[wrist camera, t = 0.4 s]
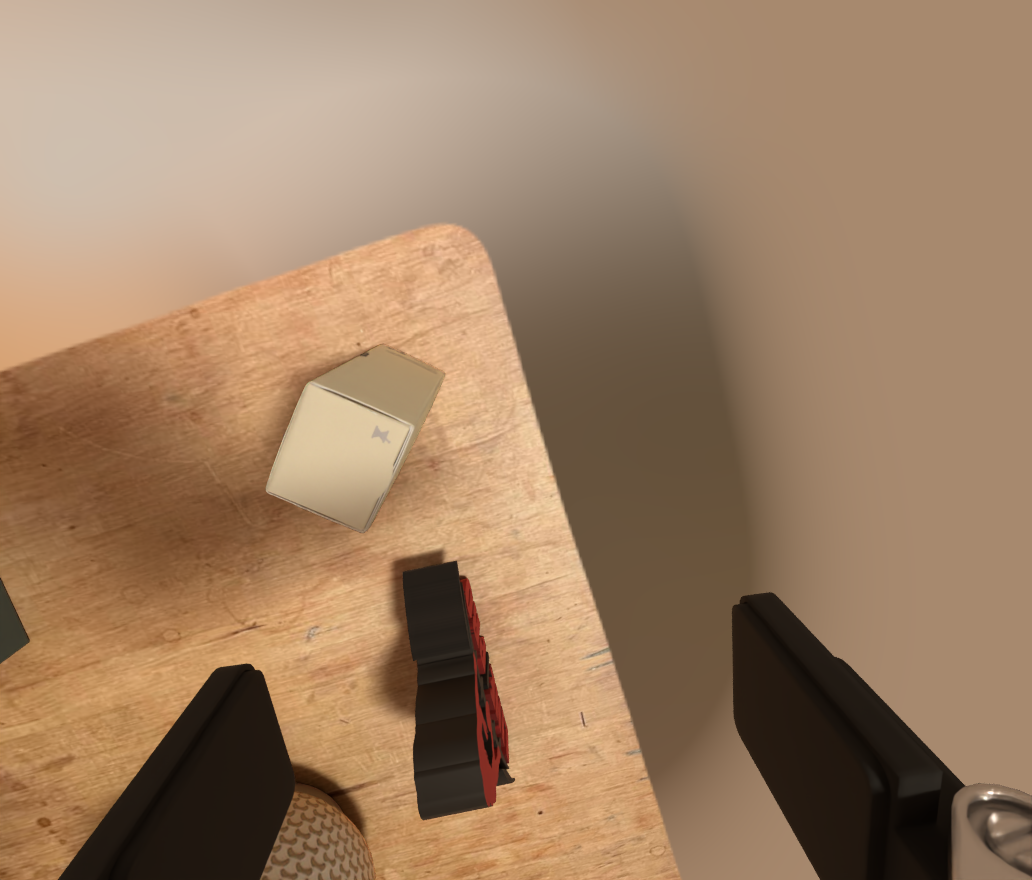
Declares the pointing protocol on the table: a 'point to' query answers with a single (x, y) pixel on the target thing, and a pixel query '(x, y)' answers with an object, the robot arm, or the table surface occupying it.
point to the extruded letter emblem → (453, 697)
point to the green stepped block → (9, 627)
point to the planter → (318, 842)
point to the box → (354, 435)
